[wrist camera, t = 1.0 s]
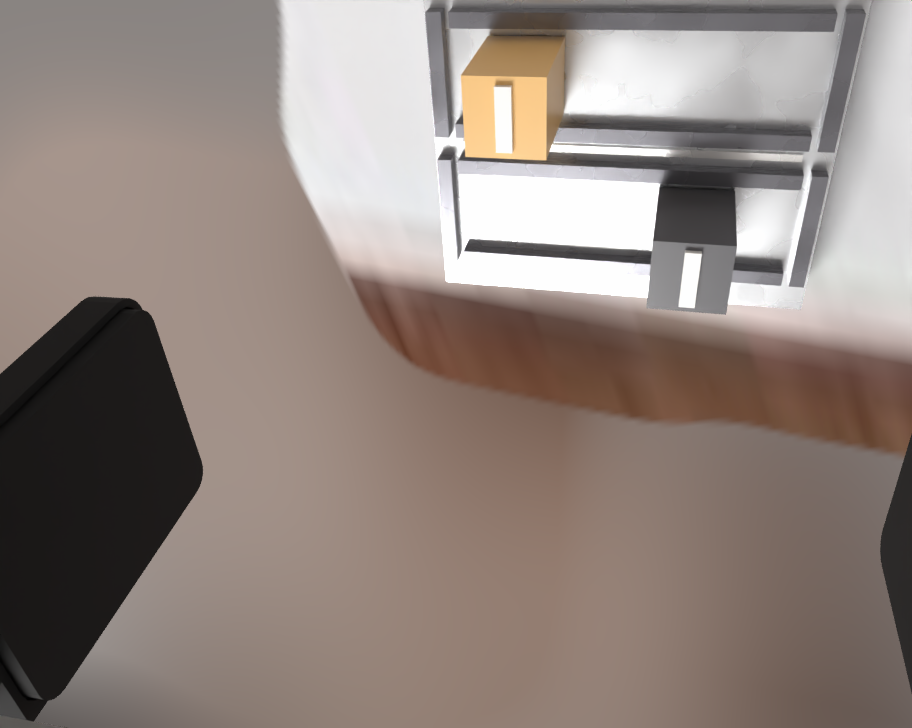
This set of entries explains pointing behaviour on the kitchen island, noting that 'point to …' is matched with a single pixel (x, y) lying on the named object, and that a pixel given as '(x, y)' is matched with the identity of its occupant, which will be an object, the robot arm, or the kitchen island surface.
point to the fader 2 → (693, 250)
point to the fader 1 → (513, 97)
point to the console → (649, 138)
